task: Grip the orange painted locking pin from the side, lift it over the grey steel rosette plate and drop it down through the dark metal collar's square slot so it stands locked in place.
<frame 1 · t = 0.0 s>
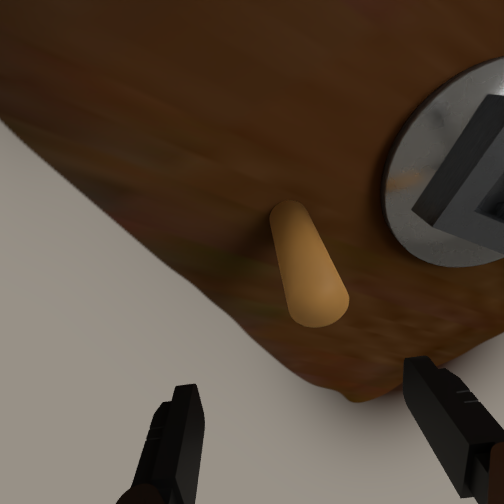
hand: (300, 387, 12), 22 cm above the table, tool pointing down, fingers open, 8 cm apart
locking pin: (288, 218, 33), on the table
rosette: (482, 172, 32), on the table
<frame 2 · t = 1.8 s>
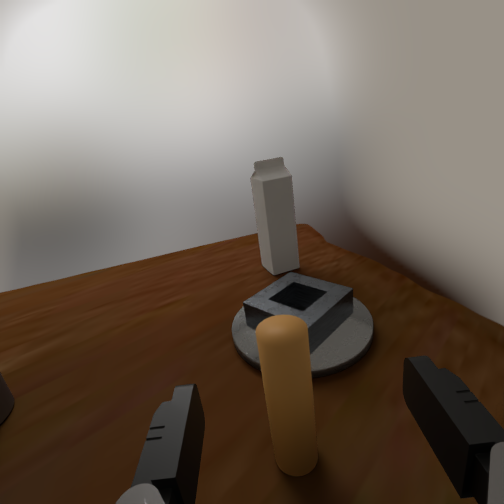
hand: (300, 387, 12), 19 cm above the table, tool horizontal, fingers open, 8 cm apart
locking pin: (296, 454, 30), on the table
milk: (280, 267, 68), on the table
rosette: (300, 327, 48), on the table
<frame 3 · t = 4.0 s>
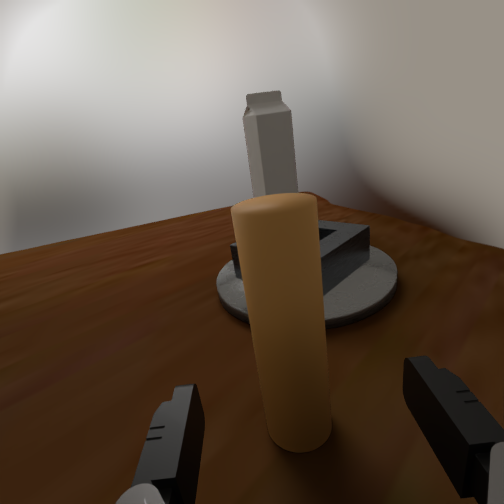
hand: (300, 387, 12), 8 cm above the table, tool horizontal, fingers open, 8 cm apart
locking pin: (298, 422, 20), on the table
milk: (278, 227, 58), on the table
rosette: (303, 279, 38), on the table
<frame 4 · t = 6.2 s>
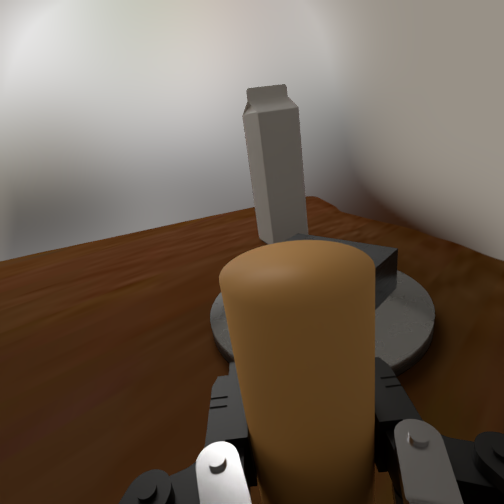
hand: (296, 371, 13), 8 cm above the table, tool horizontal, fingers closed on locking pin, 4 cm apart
milk: (283, 239, 52), on the table
rosette: (315, 311, 31), on the table
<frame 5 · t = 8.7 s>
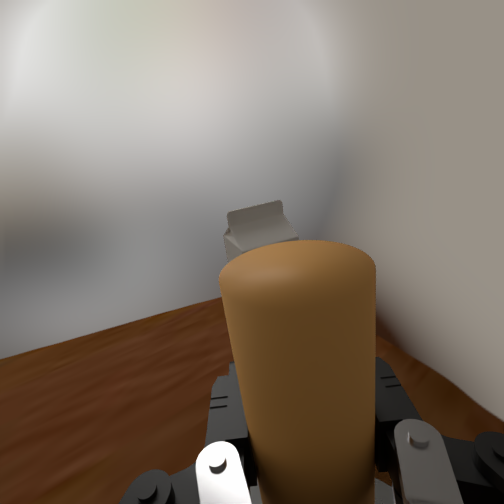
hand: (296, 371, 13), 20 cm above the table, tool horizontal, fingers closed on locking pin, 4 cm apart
milk: (278, 379, 40), on the table
when the fingers open (11 cm above the table, at t = 11.4 s): locking pin drops 1 cm, resting on rosette.
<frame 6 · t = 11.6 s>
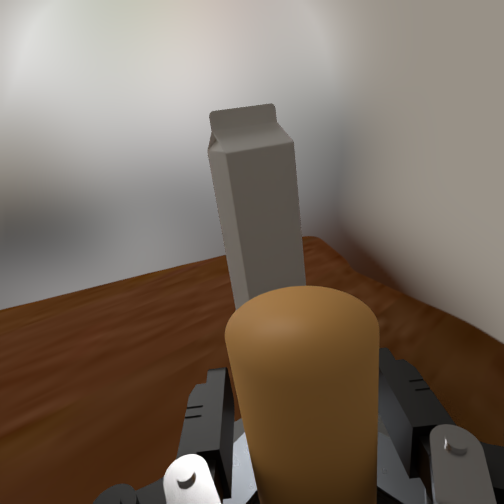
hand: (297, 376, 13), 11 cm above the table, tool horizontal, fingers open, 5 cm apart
milk: (272, 328, 35), on the table
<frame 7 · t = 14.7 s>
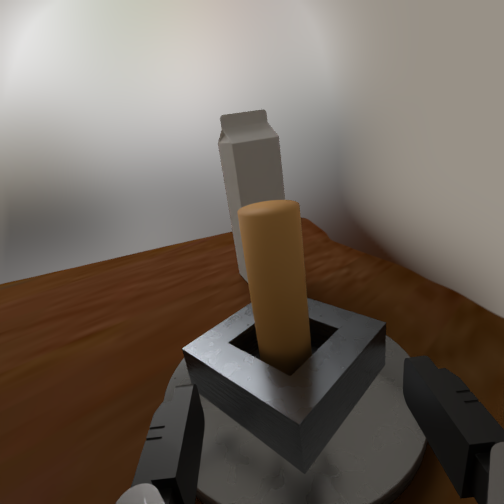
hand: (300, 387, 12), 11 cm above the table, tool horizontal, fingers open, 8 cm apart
locking pin: (288, 377, 26), point 1 cm above the table, touching rosette
milk: (265, 277, 47), on the table
rosette: (289, 391, 27), on the table
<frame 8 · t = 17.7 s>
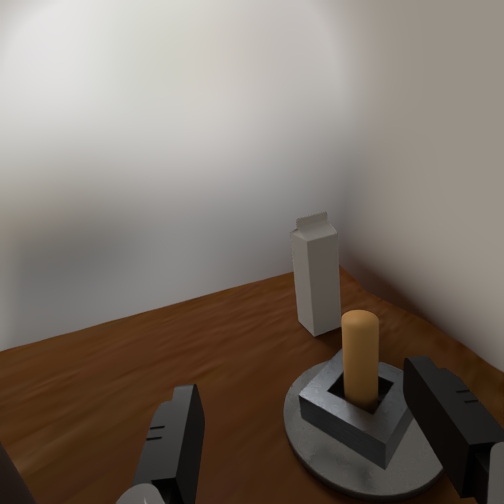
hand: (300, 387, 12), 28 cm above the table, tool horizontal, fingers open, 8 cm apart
locking pin: (361, 411, 42), point 1 cm above the table, touching rosette
milk: (319, 324, 63), on the table
rosette: (361, 419, 42), on the table
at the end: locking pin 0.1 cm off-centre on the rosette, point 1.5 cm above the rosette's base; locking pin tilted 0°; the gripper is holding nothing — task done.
